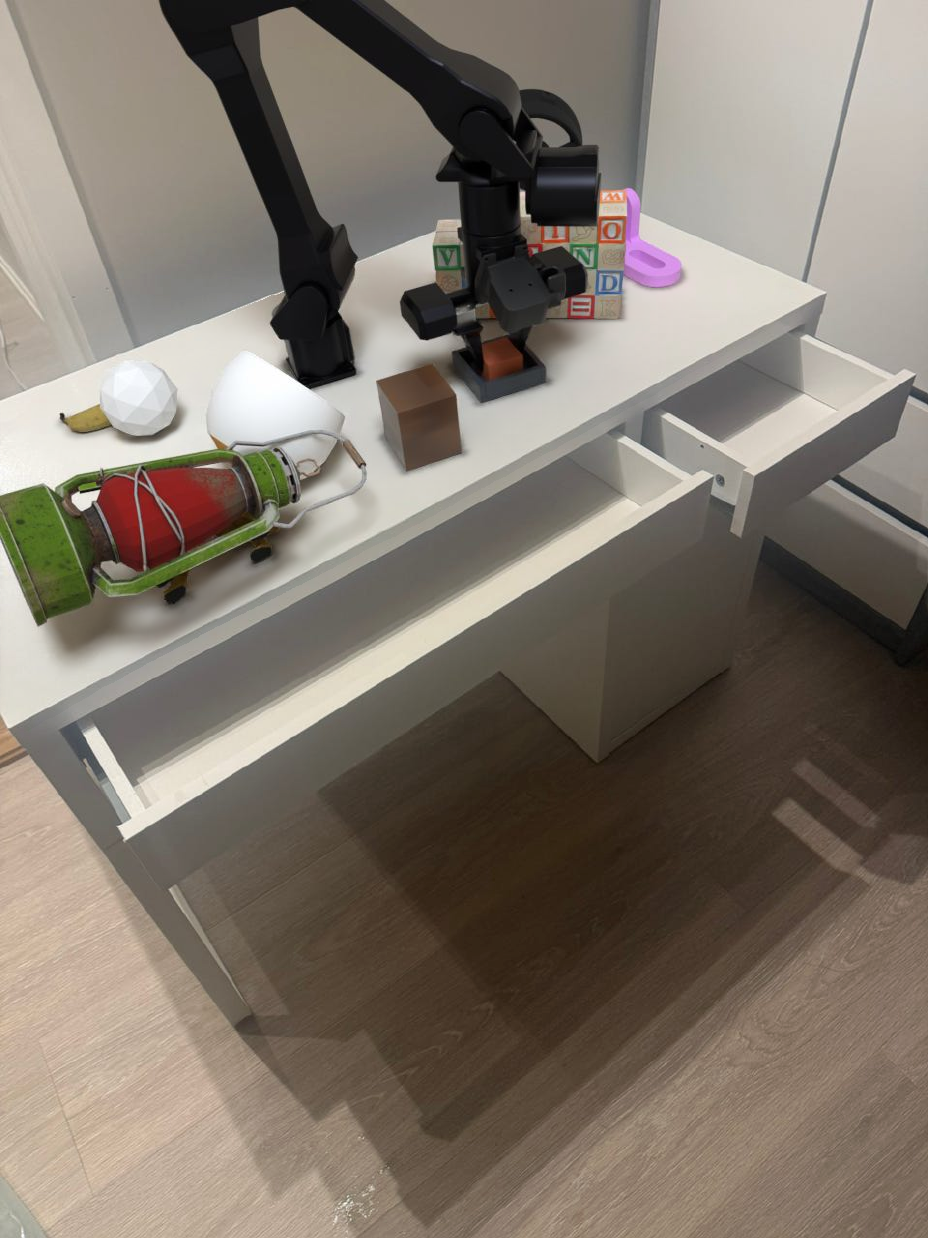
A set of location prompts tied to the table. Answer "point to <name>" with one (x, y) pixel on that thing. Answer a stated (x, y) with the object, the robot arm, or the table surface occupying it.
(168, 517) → the lantern
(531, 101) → the black spoked wheel
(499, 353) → the orange square block
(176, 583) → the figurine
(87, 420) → the banana
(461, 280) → the stack of blocks
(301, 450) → the cup
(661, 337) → the table surface
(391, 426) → the brown wooden cube
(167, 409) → the geometric ball
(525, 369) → the dark gray square tray
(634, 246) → the bracket
